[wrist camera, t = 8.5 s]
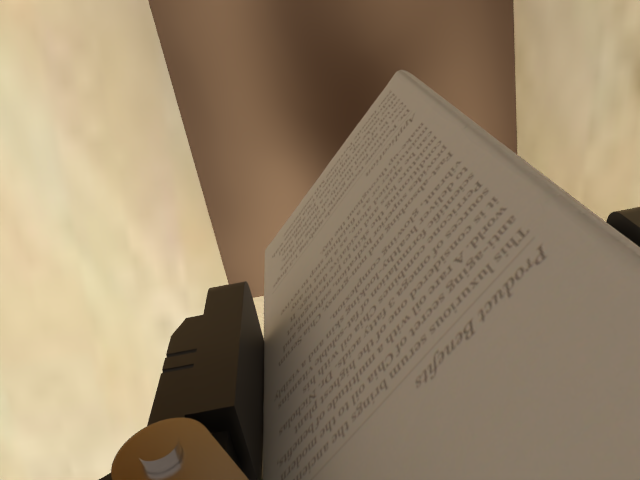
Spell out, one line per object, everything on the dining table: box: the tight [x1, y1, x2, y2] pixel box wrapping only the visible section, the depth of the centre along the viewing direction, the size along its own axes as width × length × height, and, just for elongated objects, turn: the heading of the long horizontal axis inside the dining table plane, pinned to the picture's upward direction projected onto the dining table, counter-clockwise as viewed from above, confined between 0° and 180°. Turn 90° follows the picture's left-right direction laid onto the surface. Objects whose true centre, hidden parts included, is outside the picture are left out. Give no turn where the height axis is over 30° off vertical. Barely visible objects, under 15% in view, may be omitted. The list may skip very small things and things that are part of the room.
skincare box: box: [263, 70, 640, 480], centre depth 10 cm, size 6×4×12 cm
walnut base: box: [148, 0, 517, 298], centre depth 23 cm, size 12×12×4 cm
